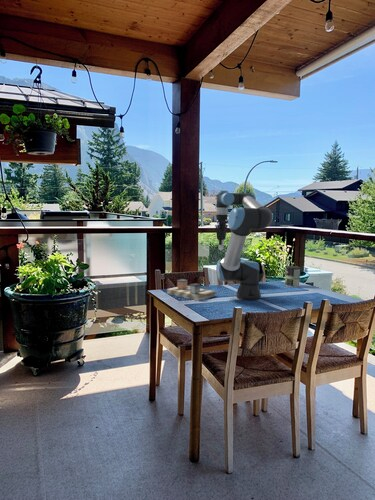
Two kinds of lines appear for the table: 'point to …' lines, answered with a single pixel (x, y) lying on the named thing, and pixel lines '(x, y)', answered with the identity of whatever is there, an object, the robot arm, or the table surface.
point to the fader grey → (195, 288)
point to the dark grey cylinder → (259, 270)
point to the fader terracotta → (182, 284)
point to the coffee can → (292, 276)
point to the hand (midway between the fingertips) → (220, 249)
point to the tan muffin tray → (186, 293)
